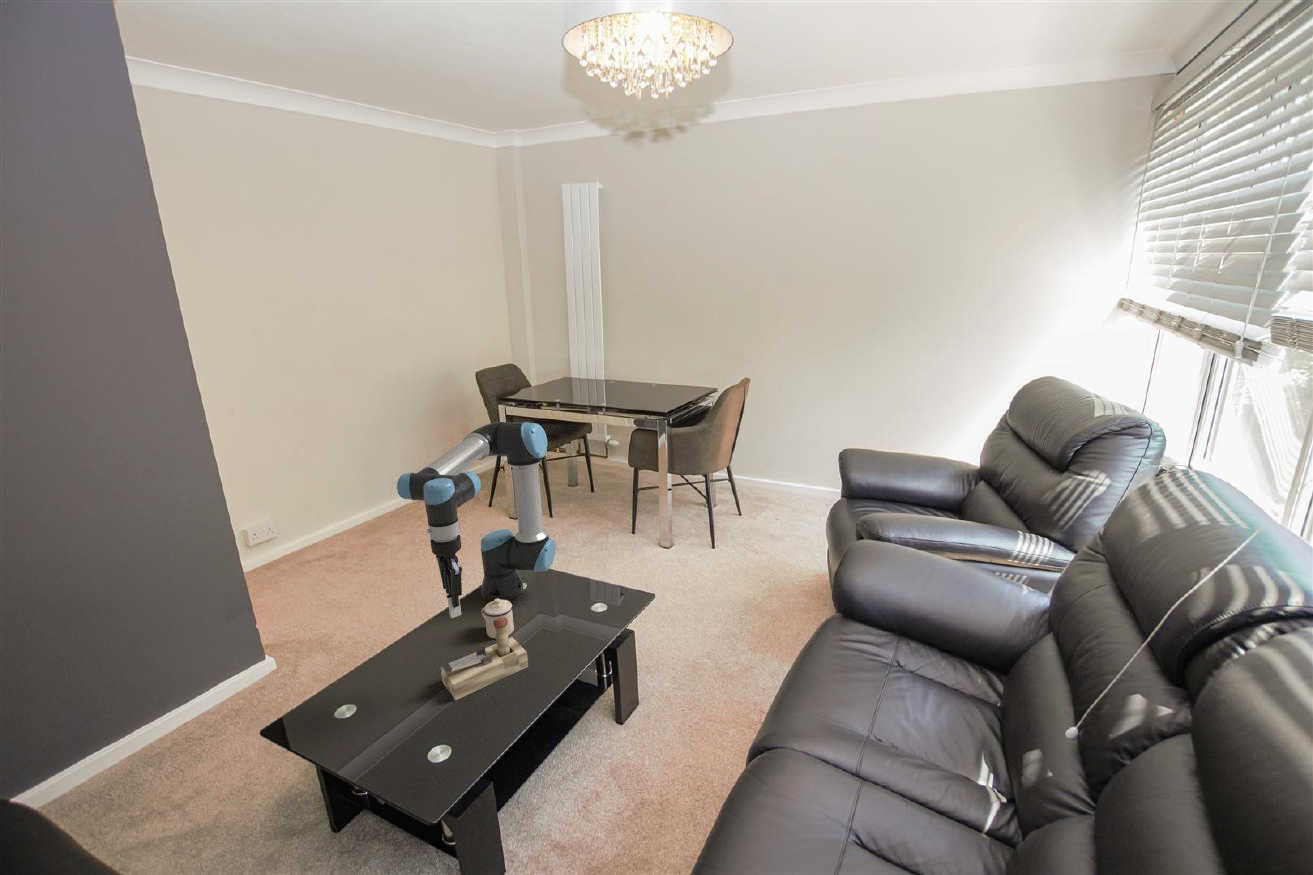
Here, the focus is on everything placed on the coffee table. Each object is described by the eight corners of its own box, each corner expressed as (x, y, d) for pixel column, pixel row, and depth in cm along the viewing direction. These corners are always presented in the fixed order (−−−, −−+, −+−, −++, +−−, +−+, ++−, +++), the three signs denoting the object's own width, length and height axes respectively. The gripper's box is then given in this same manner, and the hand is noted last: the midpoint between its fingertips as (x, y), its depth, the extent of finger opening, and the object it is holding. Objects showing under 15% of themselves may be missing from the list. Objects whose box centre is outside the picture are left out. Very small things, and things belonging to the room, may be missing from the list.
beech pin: (496, 665, 174) (491, 620, 170) (508, 659, 177) (503, 615, 173) (501, 671, 171) (496, 626, 167) (514, 665, 174) (509, 621, 170)
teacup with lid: (520, 627, 193) (517, 596, 190) (500, 642, 185) (497, 610, 182) (493, 618, 199) (490, 587, 196) (473, 632, 191) (469, 600, 188)
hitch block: (442, 682, 168) (439, 660, 166) (513, 651, 181) (511, 630, 179) (455, 700, 160) (452, 677, 158) (528, 666, 173) (526, 645, 171)
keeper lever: (442, 667, 163) (442, 664, 163) (482, 655, 170) (482, 652, 170) (446, 673, 161) (446, 669, 160) (486, 660, 168) (486, 657, 168)
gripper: (422, 533, 157) (433, 610, 164) (439, 549, 148) (450, 630, 154) (450, 525, 162) (460, 601, 168) (468, 540, 152) (478, 620, 158)
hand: (455, 615), depth 161 cm, fingers closed
